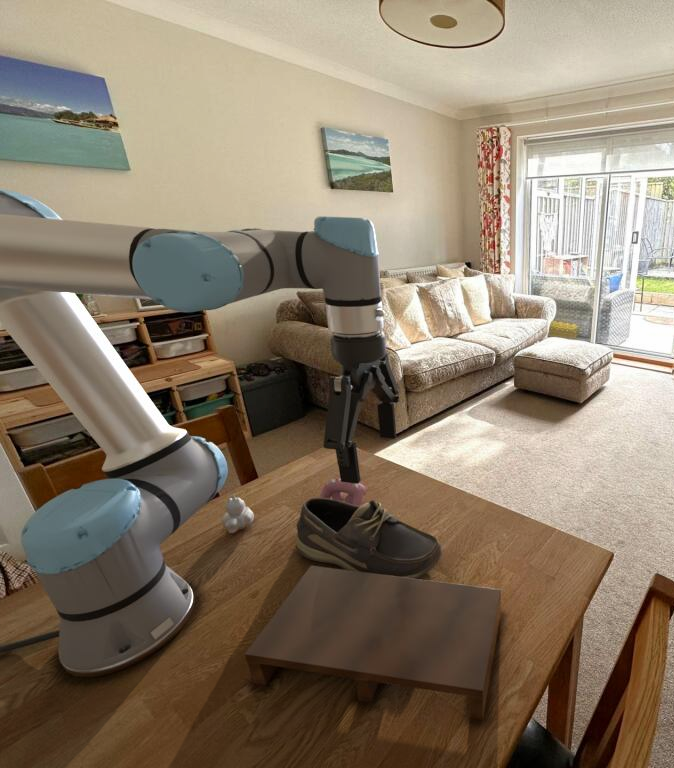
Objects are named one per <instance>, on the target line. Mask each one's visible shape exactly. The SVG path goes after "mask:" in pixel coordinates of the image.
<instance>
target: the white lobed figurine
mask: <svg viewBox="0 0 674 768" xmlns="http://www.w3.org/2000/svg"><path fill="white" fill-rule="evenodd" d="M225 510H226V513H225V514H224V515H223V516H222V518H221V524H222V526H223V527H224V528H226V529H227V531H228V533H229V534H234V533H236V532H237V531H238V530H243V529H245V528H247V527H249V526H251V524H252V523H253V521H254V519H255V514H254V512H253V511H252V510H251V508H250V507H248V506H246V503H245V501H244V500H243V499H241V498H240V497H236V495H235V494H234V493H233V494H232V496H231V497H229V498H228V499H227V501H226V504H225Z"/></svg>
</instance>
